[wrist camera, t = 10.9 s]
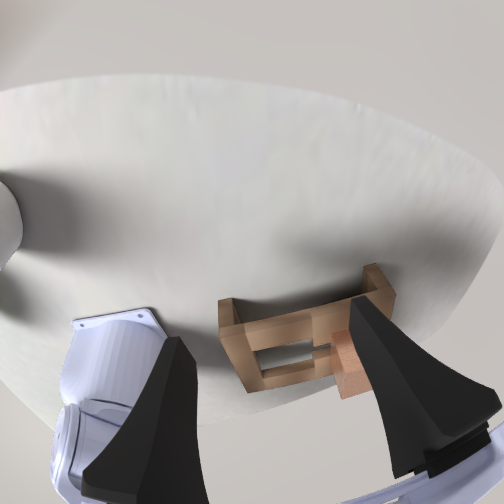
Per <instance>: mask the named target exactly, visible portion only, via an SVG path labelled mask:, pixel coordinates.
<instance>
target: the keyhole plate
mask: <svg viewBox="0 0 504 504" xmlns="http://www.w3.org/2000/svg"><path fill="white" fill-rule="evenodd" d="M362 295H365V296H367V297H368V298H369V300H370V301H371V302H372V303H373V304H374V305H375V306H376V307H377V308H378V309H379V310H380V311H381V312H382V313H383V314H384V315H385V316H386V317H387V318H388V319H389V320H390V319H391V315H392V311H393V306H394V302H395V297H396V293H395V292H394V290H393V288H392V287H391V285H390V284H389V282H388V281H387V279H386V278H385V276H384V275H383V273H382V271H381V270H380V268H379V267H378V266H377V264H376V263H375V264H371V265H367V266H364V271H363V285H362V294H361V295H358V296H354V297H351V298H347V299H343V300H340V301H336V302H332V303H328V304H325V305H321V306H317V307H313V308H309V309H305V310H301V311H296V312H292V313H288V314H284V315H279V316H275V317H270V318H266V319H261V320H257V321H252V322H247V323H242V324H241V322H240V319H239V316H238V314H237V311H236V308H235V305H234V303H233V300H232V298H229V299H224V300H219V301H218V323H219V339H220V341H221V343H222V345H223V347H224V349H225V351H226V353H227V355H228V357H229V359H230V361H231V363H232V365H233V367H234V369H235V371H236V373H237V374H238V376H239V378H240V380H241V382H242V384H243V386H244V388H245V389H246V391H247V393H252V392H258V391H263V390H268V389H273V388H278V387H283V386H288V385H292V384H297V383H301V382H305V381H309V380H313V379H317V378H321V377H325V376H328V375H332V374H333V371H332V368H331V364H330V354H331V346H330V347H326V348H323V349H319V350H315V351H312V355H313V359H310V360H306V361H302V362H298V363H293V364H289V365H285V366H280V367H275V368H271V369H266V370H261V368H260V365H259V362H258V360H257V357H256V354H255V352H254V351H257V350H261V349H266V348H271V347H276V346H280V345H285V344H289V343H293V342H297V341H302V340H306V339H310V338H311V339H312V342H313V345H314V347H316V346H320V345H323V344H327V343H331V333H334V332H337V331H341V330H344V329H348V328H349V317H350V303H351V299H352V298H355V297H359V296H362Z"/></svg>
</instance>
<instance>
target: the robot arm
mask: <svg viewBox="0 0 504 504" xmlns="http://www.w3.org/2000/svg"><path fill="white" fill-rule="evenodd" d="M141 314H142V315H141ZM71 326H72V328H73V329H74V330H75V332H74V335H73V338H72V341H71V343H70V346H69V349H68V352H67V355H66V358H65V361H64V365H63V368H62V371H61V375H60V392H61V396H62V399H63V401H64V403H65V405H66V406H64V407H63V408H62V410H61V412H60V415H59V418H58V421H57V424H56V428H55V433H54V437H53V443H52V453H51V464H50V478H51V481H52V482H53V486H54V488H55V490H56V491H57V493H58V494H59V495H60V496H61V497H62V498H63V499H64V500H65V501H66V502H67V503H68V504H209V501H208V497H207V493H206V489H205V485H204V481H203V475H202V470H201V464H200V458H199V449H198V440H197V396H198V379H197V368H196V361H195V360H194V358H193V357H192V355H191V354H190V352H189V351H188V349H187V348H186V346H185V345H184V343H183V342H182V340H181V338H180V337H179V336H178V337H171V338H168V337H167V335H166V334H165V332H164V331H163V329H162V328H161V326H160V325H159V323H158V322H157V320H156V318H155V317H154V315H153V314H152V312H151V311H150V310H149V309H146V308H145V309H139V310H133V311H127V312H122V313H116V314H110V315H105V316H99V317H93V318H87V319H80V320H74V321H72V323H71ZM349 332H350V335H351V338H352V341H353V344H354V347H355V350H356V352H357V355H358V357H359V359H360V361H361V364H362V366H363V368H364V370H365V373H366V375H367V377H368V379H369V382H370V384H371V386H372V389H373V391H374V394H375V396H376V399H377V402H378V405H379V409H380V413H381V416H382V420H383V424H384V428H385V432H386V436H387V441H388V446H389V451H390V457H391V463H392V471H393V475H394V478H395V479H397V478H399V477H402V476H404V475H406V474H408V473H411V472H413V471H414V474H415V476H413V477H411V478H409V479H406V480H404V481H402V482H399V483H397V484H395V485H392V486H390V487H387V488H385V489H382V490H379V491H377V492H374V493H371V494H368V495H365V496H362V497H359V498H355V499H352V500H349V501H345V502H342V503H338V504H382V503H385V502H387V501H390V500H393V499H395V498H397V497H399V499H398V501H396V502H393V503H389V504H474V503H476V502H477V501H478V500H479V499H481V498H482V497H483V496H484V495H486V494H487V493H488V492H489V491H490V490H491V489H492V488H494V487H495V486H496V485H497V484H498V483H499V482H500V481H502V480H503V479H504V422H502V423H501V424H500V425H498V426H497V427H496V428H494V429H493V430H491V431H490V432H488V431H487V428H488V427H489V425H488V422H487V420H488V419H490V418H491V417H492V416H493V415H495V414H496V413H497V412H498V411H499V410H500V409H501V408H502V404H501V402H500V400H499V397H498V395H497V394H496V392H495V390H494V389H491V388H489V387H486V386H484V385H481V384H479V383H477V382H475V381H473V380H471V379H469V378H467V377H465V376H463V375H461V374H460V373H458V372H456V371H455V370H453V369H451V368H449V367H448V366H446V365H444V364H443V363H441V362H440V361H438V360H437V359H436V358H434V357H433V356H431V355H430V354H428V353H427V352H426V351H425V350H423V349H422V348H421V347H420V346H418V345H417V344H416V343H415V342H413V341H412V340H411V339H410V338H409V337H408V336H406V335H405V334H404V333H403V332H402V331H401V330H400V329H399V328H398V327H397V326H396V325H394V324H393V323H392V322H391V321H390V320H389V319H388V318H387V317H386V316H385V315H384V314H383V313H382V312H381V311H380V310H379V309H378V308H377V307H376V306H375V305H374V304H373V303H372V302H371V301H370V300H369V298H368V297H367V296H365V295H362V296H359V297H355V298H352V299H351V303H350V317H349Z"/></svg>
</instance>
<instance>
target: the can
mask: <svg viewBox="0 0 504 504" xmlns="http://www.w3.org/2000/svg"><path fill="white" fill-rule="evenodd" d="M22 237H23V223H22V219H21V214H20V210H19V206H18V204H17V201H16V199H15V197H14V195H13V194H12V193H11V191H10V190H9V188H8V187H6V186H5V185H4V184H3V183H2V182H0V271H1V269H2V268H3V267H4V265H5V264H6V263H7V261H8V260H9V259H10V257H11V256H12V255H13V254H14V252H15V251H16V250H17V248H18V247H19V246H20V244H21V240H22Z"/></svg>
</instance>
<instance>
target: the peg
mask: <svg viewBox="0 0 504 504" xmlns="http://www.w3.org/2000/svg"><path fill="white" fill-rule="evenodd" d="M330 364H331V368H332V371H333V374H334V377H335V380H336V383H337V386H338V390H339V393H340V396H341V399H345V398H348V397H351V396H355V395H358V394H361V393H364V392H367V391H370V390H373V389H372V386H371V384H370V382H369V379H368V377H367V375H366V373H365V370H364V368H363V366H362V364H361V361H360V359H359V357H358V355H357V352H356V350H355V347H354V344H353V341H352V338H351V335H350V332H349V328H348V329H344V330H341V331H337V332H334V333H331V354H330Z"/></svg>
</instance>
